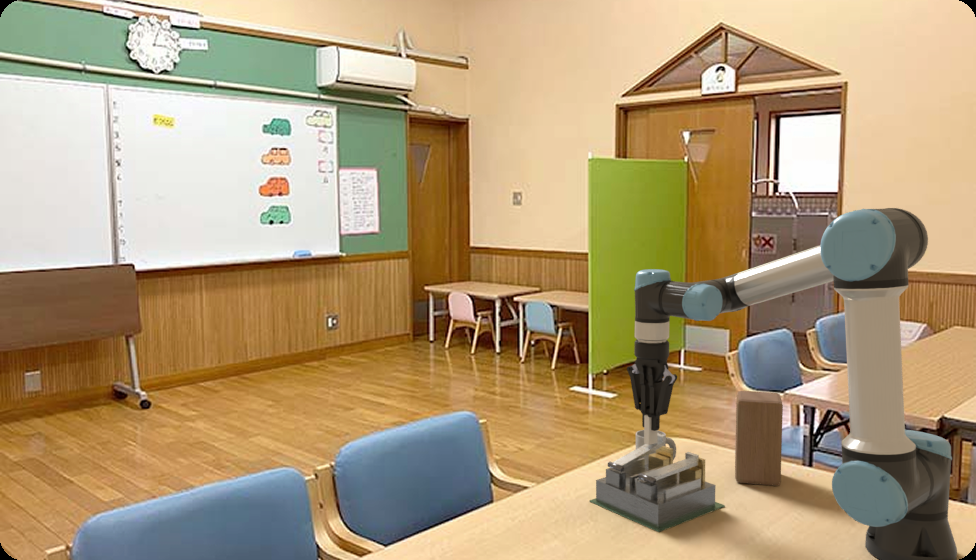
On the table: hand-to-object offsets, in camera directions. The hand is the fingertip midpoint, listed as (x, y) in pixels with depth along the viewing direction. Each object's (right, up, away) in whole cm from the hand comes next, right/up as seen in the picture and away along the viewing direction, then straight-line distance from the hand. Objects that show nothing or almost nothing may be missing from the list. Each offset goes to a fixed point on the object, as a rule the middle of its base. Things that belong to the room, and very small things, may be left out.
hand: (650, 443), depth 177 cm
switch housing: (0, -13, -4) cm, 13 cm away
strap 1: (+2, -4, -9) cm, 11 cm away
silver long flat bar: (-3, -3, -2) cm, 5 cm away
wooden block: (+27, -11, +10) cm, 31 cm away
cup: (+5, -10, +18) cm, 21 cm away
